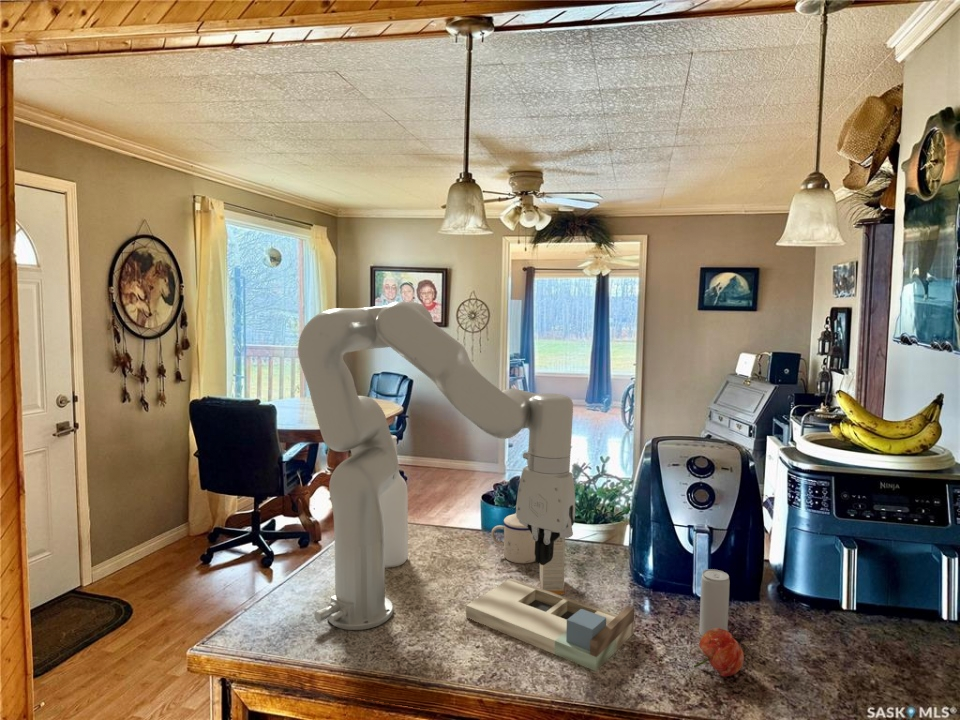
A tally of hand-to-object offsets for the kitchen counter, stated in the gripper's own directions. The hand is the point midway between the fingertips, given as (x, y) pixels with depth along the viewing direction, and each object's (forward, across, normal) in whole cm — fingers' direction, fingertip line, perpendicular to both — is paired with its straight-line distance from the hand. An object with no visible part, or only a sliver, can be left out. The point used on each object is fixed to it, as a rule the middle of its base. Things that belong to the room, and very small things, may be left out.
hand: (543, 561), depth 110 cm
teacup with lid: (+15, -24, +27) cm, 39 cm away
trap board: (+14, -1, +4) cm, 15 cm away
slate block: (+12, +9, 0) cm, 15 cm away
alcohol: (+16, -46, +6) cm, 49 cm away
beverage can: (+13, +25, +20) cm, 35 cm away
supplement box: (+15, -9, +19) cm, 25 cm away
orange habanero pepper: (+13, +29, +10) cm, 34 cm away
